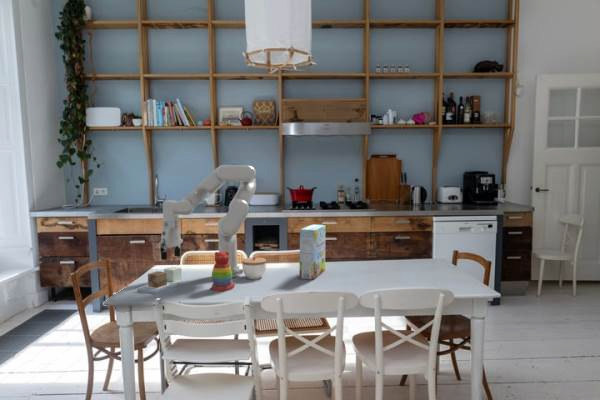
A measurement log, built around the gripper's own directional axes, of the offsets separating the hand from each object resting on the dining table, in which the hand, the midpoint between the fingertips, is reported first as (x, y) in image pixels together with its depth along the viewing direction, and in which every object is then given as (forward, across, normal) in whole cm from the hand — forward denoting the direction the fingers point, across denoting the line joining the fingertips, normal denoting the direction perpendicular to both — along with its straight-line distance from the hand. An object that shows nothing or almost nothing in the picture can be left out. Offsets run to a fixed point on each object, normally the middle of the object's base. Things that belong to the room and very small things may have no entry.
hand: (170, 257), depth 216 cm
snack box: (+9, +39, -63) cm, 74 cm away
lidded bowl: (+10, +22, -37) cm, 44 cm away
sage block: (+12, +1, -1) cm, 12 cm away
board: (+12, -14, -5) cm, 19 cm away
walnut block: (+10, -14, -5) cm, 18 cm away
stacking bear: (+11, -2, -34) cm, 36 cm away
